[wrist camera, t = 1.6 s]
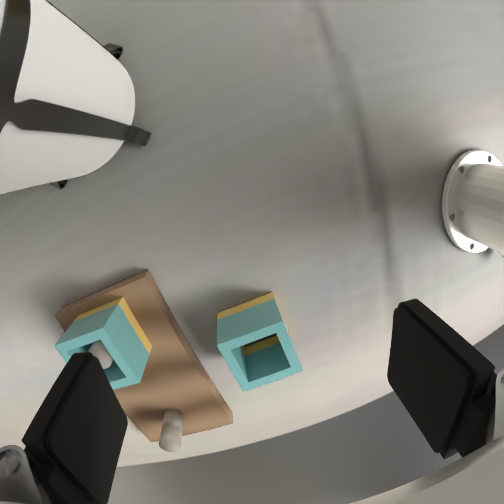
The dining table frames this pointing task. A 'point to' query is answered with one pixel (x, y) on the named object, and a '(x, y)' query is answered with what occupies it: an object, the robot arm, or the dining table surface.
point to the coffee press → (58, 98)
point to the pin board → (158, 367)
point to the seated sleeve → (110, 341)
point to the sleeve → (262, 353)
